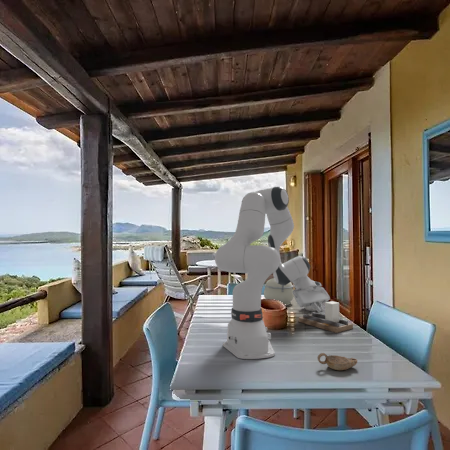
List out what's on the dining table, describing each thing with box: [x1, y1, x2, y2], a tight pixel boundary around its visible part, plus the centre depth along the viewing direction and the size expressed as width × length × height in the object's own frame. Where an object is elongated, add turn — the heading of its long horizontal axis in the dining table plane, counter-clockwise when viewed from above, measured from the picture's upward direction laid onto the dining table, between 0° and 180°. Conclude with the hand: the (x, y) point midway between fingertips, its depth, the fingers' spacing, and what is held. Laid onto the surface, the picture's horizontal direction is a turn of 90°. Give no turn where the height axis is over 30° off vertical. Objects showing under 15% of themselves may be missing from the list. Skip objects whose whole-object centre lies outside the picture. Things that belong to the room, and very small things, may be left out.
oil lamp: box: [317, 352, 358, 371], centre depth 114 cm, size 13×8×5 cm, turn 90°
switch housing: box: [298, 311, 354, 334], centre depth 164 cm, size 22×12×4 cm, turn 36°
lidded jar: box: [304, 306, 319, 312], centre depth 196 cm, size 11×11×9 cm
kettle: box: [263, 262, 295, 306], centre depth 213 cm, size 25×18×25 cm
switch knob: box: [324, 300, 340, 323], centre depth 161 cm, size 4×5×9 cm
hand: (321, 311), depth 166 cm, fingers closed
